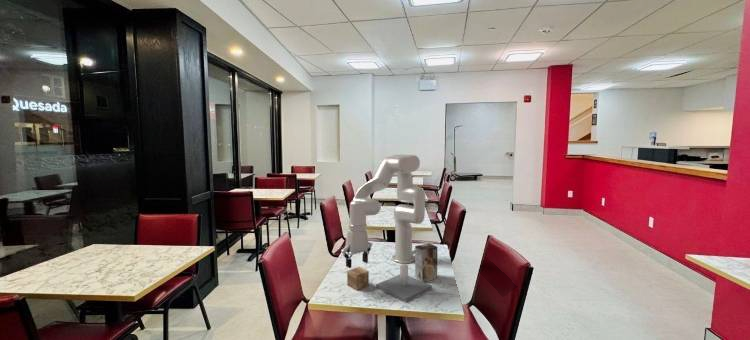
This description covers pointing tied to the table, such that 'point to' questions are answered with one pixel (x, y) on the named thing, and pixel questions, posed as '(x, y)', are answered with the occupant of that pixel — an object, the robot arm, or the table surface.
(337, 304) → the table surface
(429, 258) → the coffee box
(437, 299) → the table surface
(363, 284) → the brown wooden cube
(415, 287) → the post stand
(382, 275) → the table surface
